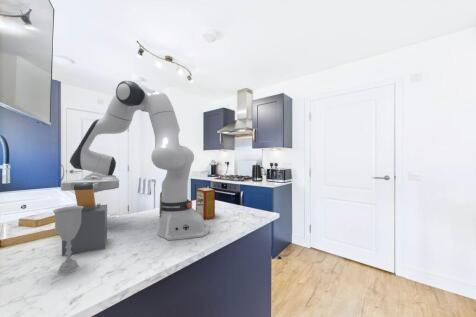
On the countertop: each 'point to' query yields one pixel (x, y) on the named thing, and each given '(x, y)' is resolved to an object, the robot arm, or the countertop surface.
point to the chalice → (68, 233)
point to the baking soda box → (205, 202)
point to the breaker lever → (85, 195)
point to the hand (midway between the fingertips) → (89, 186)
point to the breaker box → (90, 231)
